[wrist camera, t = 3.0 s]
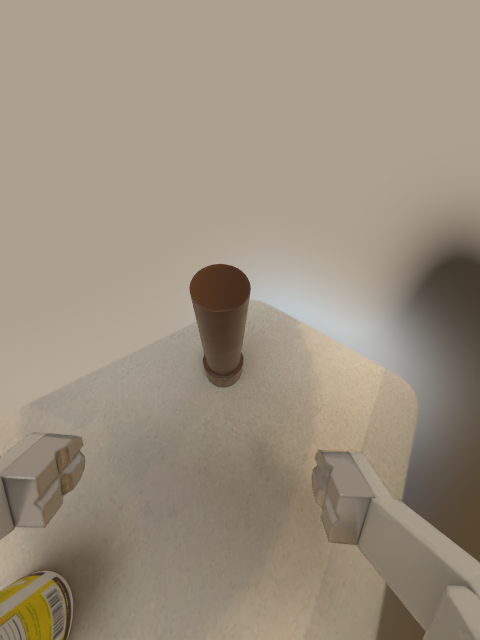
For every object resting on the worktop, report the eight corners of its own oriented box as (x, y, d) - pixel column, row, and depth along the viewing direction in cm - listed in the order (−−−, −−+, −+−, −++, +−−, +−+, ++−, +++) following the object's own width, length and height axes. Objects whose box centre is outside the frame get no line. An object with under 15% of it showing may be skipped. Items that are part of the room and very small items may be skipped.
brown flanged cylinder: (203, 386, 23) (177, 314, 11) (208, 351, 25) (189, 257, 13) (240, 388, 23) (255, 319, 11) (242, 353, 25) (256, 262, 13)
